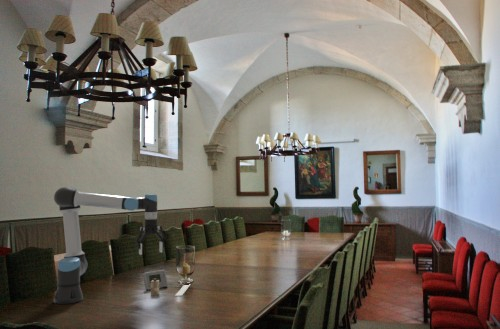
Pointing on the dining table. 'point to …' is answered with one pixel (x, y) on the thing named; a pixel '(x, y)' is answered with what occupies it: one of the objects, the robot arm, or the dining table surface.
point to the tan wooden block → (155, 287)
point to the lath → (182, 290)
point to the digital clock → (153, 275)
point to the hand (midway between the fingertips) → (150, 253)
